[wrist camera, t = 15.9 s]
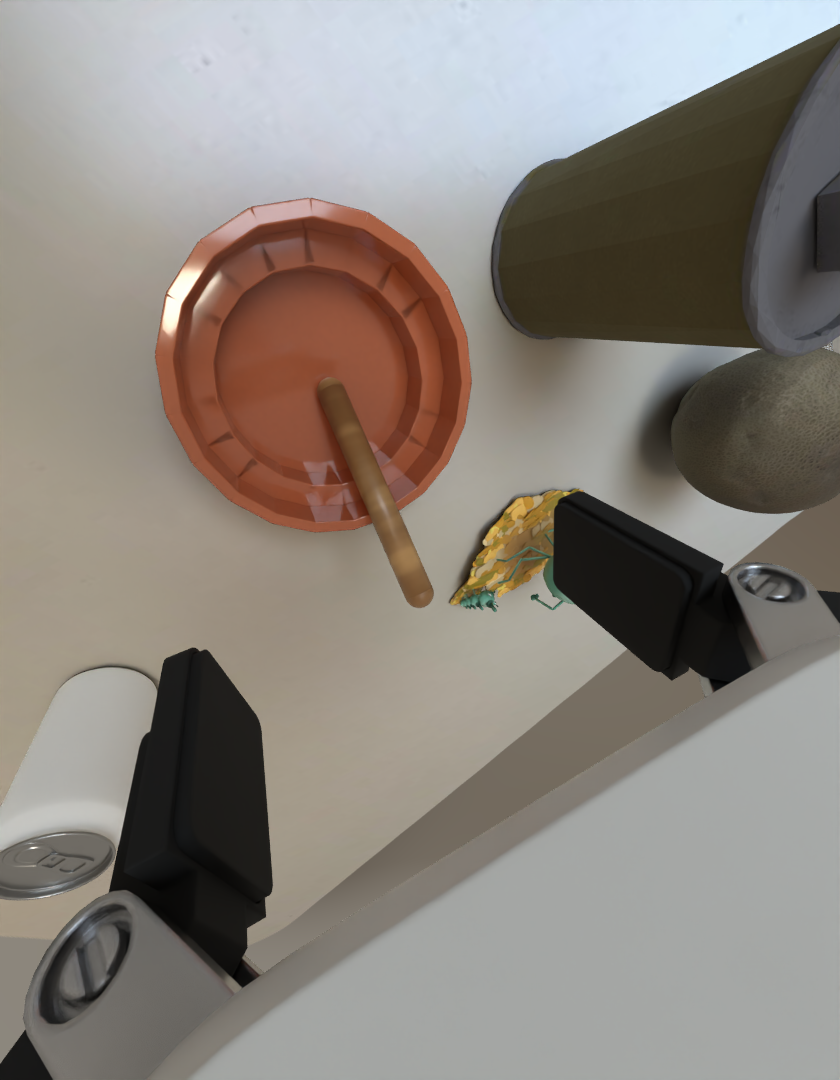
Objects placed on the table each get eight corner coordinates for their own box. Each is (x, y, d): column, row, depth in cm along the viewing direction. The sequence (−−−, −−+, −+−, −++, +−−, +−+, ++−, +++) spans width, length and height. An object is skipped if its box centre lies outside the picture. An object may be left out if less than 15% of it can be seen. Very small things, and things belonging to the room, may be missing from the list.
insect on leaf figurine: (418, 557, 36) (527, 657, 24) (560, 450, 39) (718, 492, 27) (455, 619, 42) (558, 724, 30) (577, 520, 45) (714, 581, 33)
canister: (531, 368, 32) (837, 422, 15) (463, 239, 25) (853, 107, 9) (631, 268, 31) (1061, 216, 15) (586, 111, 25) (1239, -274, 9)
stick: (316, 372, 24) (420, 610, 23) (342, 370, 25) (443, 598, 24) (309, 389, 25) (406, 614, 25) (334, 386, 26) (428, 602, 25)
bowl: (109, 255, 20) (67, 234, 15) (406, 204, 23) (451, 174, 19) (246, 526, 29) (248, 568, 24) (446, 458, 32) (482, 483, 28)
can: (110, 649, 29) (47, 814, 19) (177, 690, 33) (152, 845, 23) (31, 699, 29) (-74, 894, 19) (108, 735, 32) (53, 913, 23)
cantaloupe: (745, 315, 38) (986, 313, 25) (723, 447, 46) (898, 494, 34) (628, 371, 35) (830, 399, 23) (627, 500, 44) (776, 570, 31)
